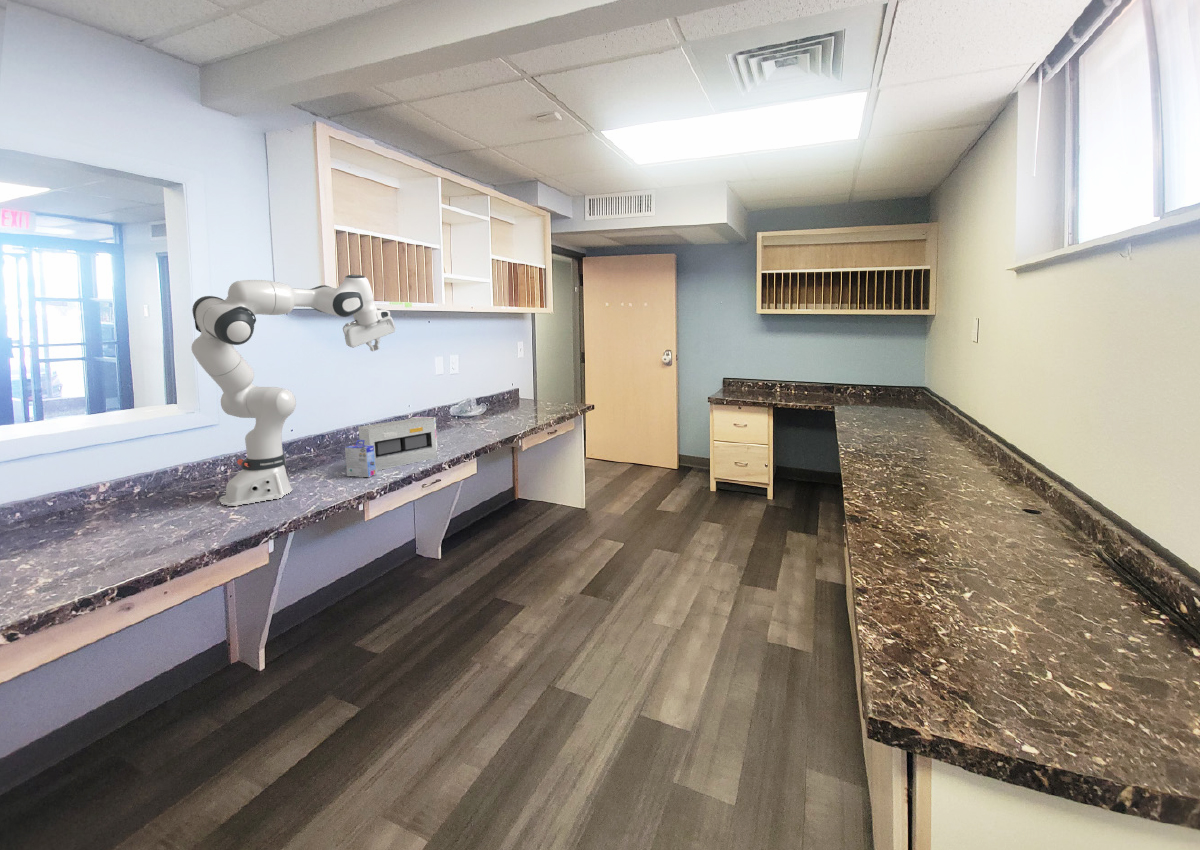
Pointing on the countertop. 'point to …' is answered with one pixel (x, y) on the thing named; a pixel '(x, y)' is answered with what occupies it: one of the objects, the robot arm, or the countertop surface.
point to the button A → (387, 446)
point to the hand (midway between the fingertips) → (375, 350)
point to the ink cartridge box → (360, 460)
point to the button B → (413, 441)
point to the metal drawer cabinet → (396, 431)
